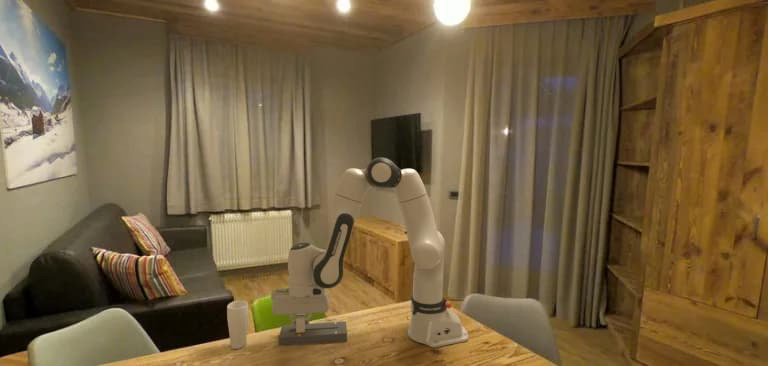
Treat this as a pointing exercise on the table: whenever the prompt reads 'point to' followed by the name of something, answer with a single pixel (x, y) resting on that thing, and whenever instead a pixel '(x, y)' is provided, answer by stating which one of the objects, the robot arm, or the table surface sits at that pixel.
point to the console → (313, 333)
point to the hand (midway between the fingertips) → (301, 324)
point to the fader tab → (300, 323)
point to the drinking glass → (237, 323)
